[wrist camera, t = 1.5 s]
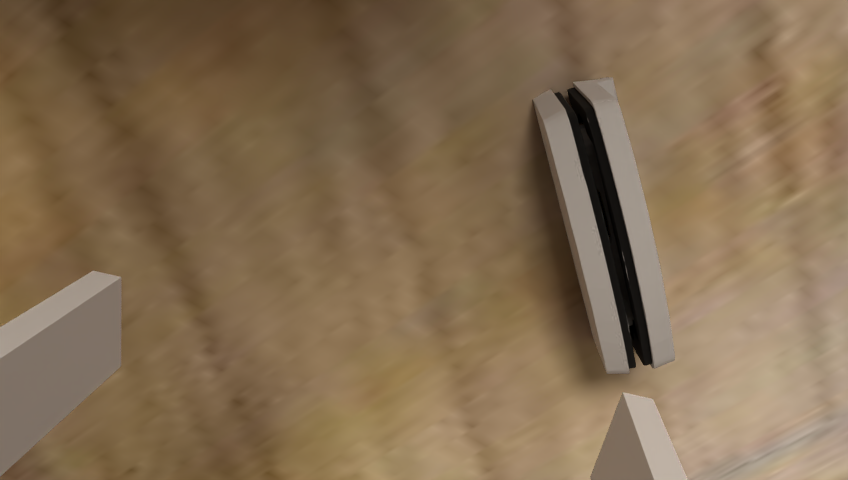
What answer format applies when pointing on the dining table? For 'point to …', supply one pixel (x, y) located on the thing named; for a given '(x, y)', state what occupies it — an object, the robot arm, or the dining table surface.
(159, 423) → the dining table surface
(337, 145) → the dining table surface
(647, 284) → the grey curved grooved block
